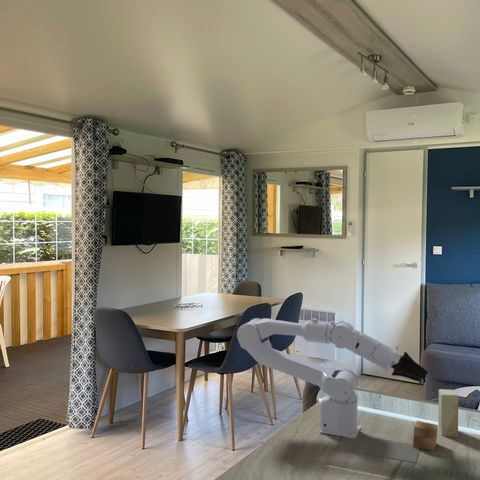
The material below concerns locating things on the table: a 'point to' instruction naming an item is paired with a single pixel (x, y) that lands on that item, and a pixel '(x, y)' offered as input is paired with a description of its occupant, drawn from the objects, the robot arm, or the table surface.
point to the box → (448, 413)
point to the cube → (425, 435)
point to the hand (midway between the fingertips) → (423, 376)
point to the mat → (392, 450)
